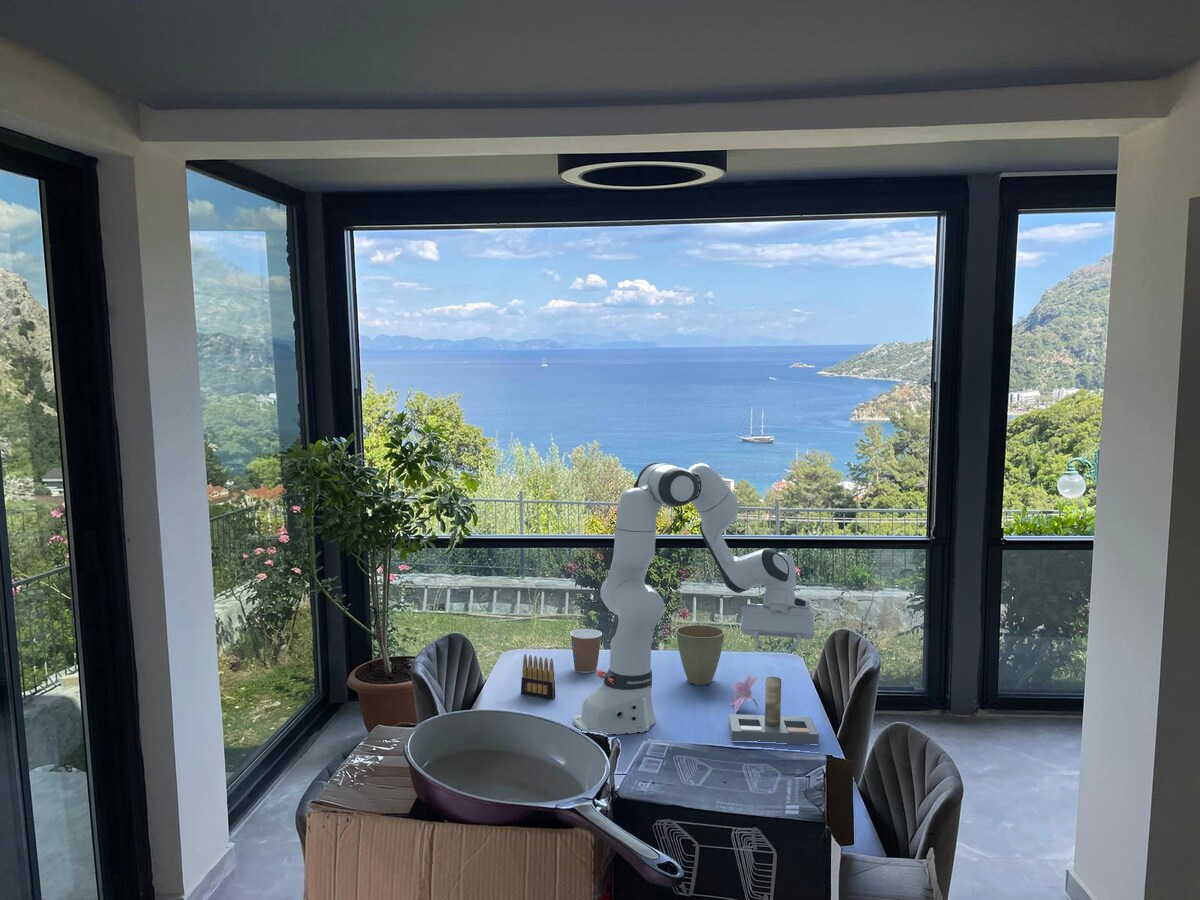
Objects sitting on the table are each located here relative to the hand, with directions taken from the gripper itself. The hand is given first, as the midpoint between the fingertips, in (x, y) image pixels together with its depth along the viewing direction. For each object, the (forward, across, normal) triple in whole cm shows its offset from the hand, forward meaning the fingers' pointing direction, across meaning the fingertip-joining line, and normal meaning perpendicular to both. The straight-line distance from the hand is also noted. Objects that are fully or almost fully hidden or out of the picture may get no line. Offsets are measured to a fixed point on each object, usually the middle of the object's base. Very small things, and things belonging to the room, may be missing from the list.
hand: (776, 649), depth 245 cm
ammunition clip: (+15, -68, +13) cm, 71 cm away
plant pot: (-4, -24, +32) cm, 41 cm away
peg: (+20, 0, +3) cm, 21 cm away
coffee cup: (-5, -61, +33) cm, 70 cm away
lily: (+10, -9, +18) cm, 23 cm away
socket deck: (+23, 0, +5) cm, 23 cm away
